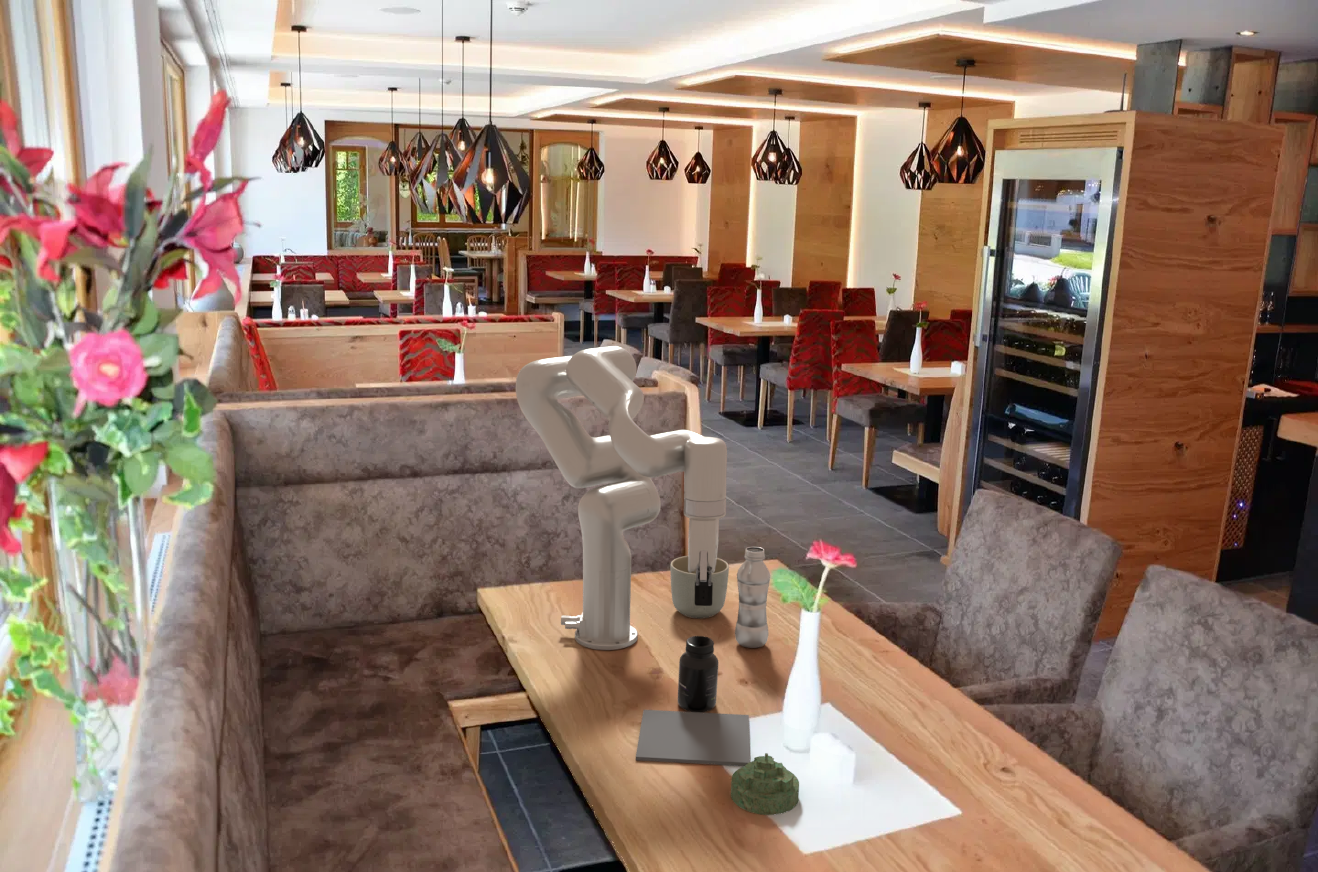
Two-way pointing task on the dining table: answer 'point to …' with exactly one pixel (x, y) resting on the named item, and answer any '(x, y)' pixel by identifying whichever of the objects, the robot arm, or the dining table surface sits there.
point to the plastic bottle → (752, 599)
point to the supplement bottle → (698, 675)
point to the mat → (694, 738)
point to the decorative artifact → (764, 787)
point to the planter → (686, 588)
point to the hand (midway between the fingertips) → (703, 603)
